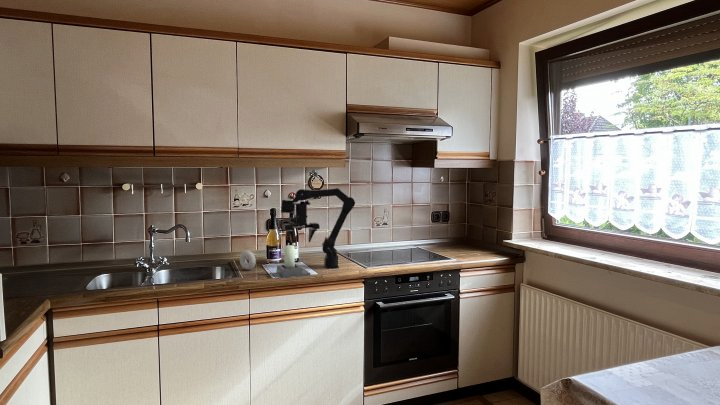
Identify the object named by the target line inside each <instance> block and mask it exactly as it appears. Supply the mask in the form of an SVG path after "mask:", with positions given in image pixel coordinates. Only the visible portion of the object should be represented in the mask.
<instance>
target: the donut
mask: <svg viewBox="0 0 720 405" xmlns="http://www.w3.org/2000/svg"><path fill="white" fill-rule="evenodd" d="M247 259H248V261H247ZM256 263H257V261H256V257H255V254H254V252H252V251H251V250H244V251H242V252H241V253H240V256H239V264H240V266H241V267H242V268H243V269H244V270H246V271H250V270H252V269H253V268H254V267H255V266H256Z"/></svg>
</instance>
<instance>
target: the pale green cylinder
mask: <svg viewBox="0 0 720 405" xmlns="http://www.w3.org/2000/svg"><path fill="white" fill-rule="evenodd" d="M283 248H284V249H283V250H284V251H283V252H284V256H283V257H284V258H283V259H284V264H283V265H284V268H285V269H286V268H295V264H296V263H295V262H296V261H295V260H296V259H295V258H296V257H295V252H296V251H295V250H296V249H295V248H296V246H295V245H292V244H290V245H289V244H287V245H284V247H283Z"/></svg>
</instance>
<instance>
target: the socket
mask: <svg viewBox="0 0 720 405" xmlns="http://www.w3.org/2000/svg"><path fill="white" fill-rule="evenodd" d="M275 273H276V274H277V273H278V274H277V275H279V276H280V278H282V279H283V277H285V278H293V277H292V276H296V277H304V276H305V277H306V276H311V272H309V271H308V270H306V269H305V268H304V267H302V266H301V265H300V264H298V263H295V268H286V269H285V268H284V264H277V265H276V272H275Z"/></svg>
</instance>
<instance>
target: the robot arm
mask: <svg viewBox="0 0 720 405" xmlns="http://www.w3.org/2000/svg"><path fill="white" fill-rule="evenodd" d="M335 196H336V197H337V198H338V199H339V200H340V201H341V202H342V207H341V210H340V213H339V215H338V216H337V220H336V221H335V224H334V225H333V228H332V229H331V232H330V234H329V235H328V237H327V236H325V237H324V240H323V242H322V244H321V245H322V251H323V253H324V254H325V255H324V260H323V267H324V268H327V269H339V268H340V266H339V255H338V250H337V249H336V247H335V244H336V241H337V237H338V236H339V233H340V232H341V229H342V227H343V225H344V223H345V221H346V219H347V216H348V215H349V214H350V212H351V211H352V210H353V208H354V207H355V205H356V201H355V199H354V198H353V197H352V196H348V195H347V194H346V193H344V191H342V190H341V189H340V188H339V187H336V188H326V189H315V190H313V189H305V188H300V189H298V190H297V191H296V192H295V197H294V198H292V199H291V200H290V199H288V200H287V199H282V200H281V207H280V211H281V212H280V213H281V214H293V212H295V214H294V216H289V218H288V220H289V221H288V222H289V223H283V224H282V226H281V227H282V230H284V231H285V232H287V233H288V236H289V239H290V242H291V244H294V230H293V229H308V239H307V240H308V243H311V241H312V238H313V236H314V235H315V233H316V232H317V231H318V230H320V224H319V223H317V222H309V223H307V222H308V220H307V219H308V214H307V213H308V206H310V205H311V202H310V201H309V200H310V199H313V198H323V197H335ZM299 201H300V202H299Z"/></svg>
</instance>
